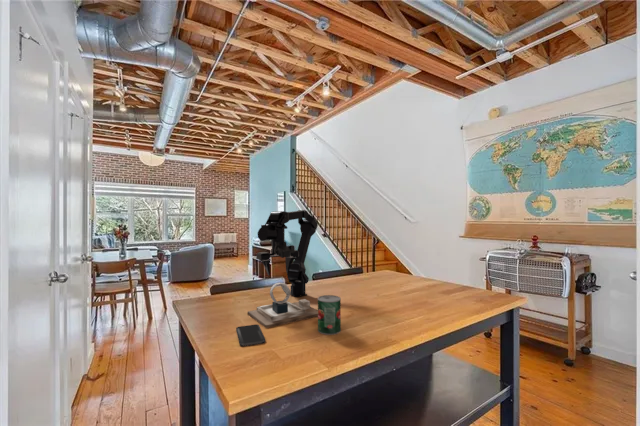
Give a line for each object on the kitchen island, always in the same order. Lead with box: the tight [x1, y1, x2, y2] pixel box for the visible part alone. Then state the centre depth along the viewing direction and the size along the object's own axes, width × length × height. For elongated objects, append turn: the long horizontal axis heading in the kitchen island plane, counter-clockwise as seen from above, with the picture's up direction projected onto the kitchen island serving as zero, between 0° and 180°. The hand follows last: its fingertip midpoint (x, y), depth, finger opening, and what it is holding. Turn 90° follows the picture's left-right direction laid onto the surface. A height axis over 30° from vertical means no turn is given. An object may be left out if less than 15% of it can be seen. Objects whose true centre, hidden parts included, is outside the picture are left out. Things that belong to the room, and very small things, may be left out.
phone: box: [235, 324, 266, 348], centre depth 99 cm, size 8×1×15 cm
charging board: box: [247, 298, 318, 329], centre depth 119 cm, size 24×18×4 cm
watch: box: [269, 282, 291, 314], centre depth 118 cm, size 6×8×11 cm
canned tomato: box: [317, 294, 342, 336], centre depth 103 cm, size 8×8×11 cm
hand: (278, 273), depth 135 cm, fingers open, 9 cm apart
